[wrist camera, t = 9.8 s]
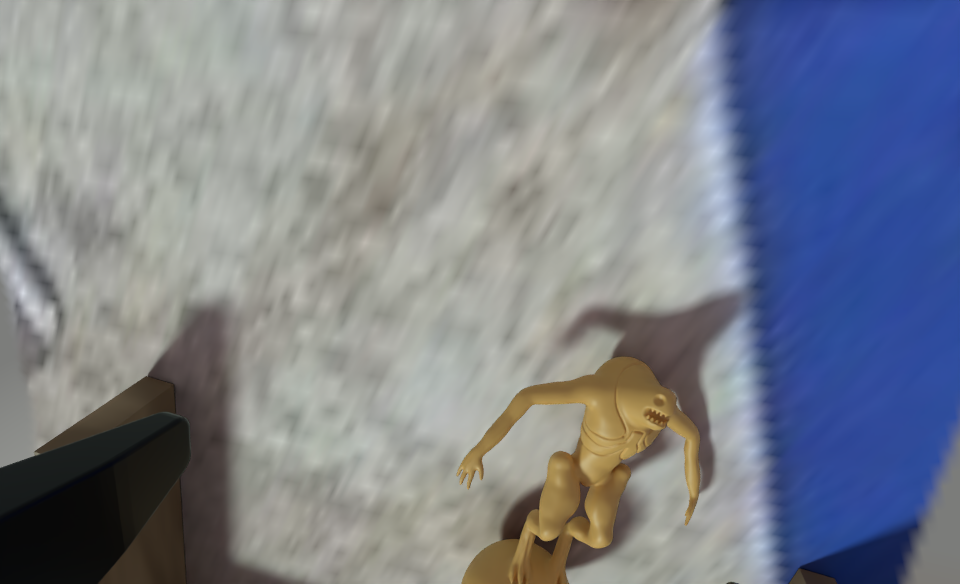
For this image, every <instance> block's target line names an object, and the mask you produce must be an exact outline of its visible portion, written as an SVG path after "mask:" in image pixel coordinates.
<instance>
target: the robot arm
mask: <svg viewBox="0 0 960 584" xmlns="http://www.w3.org/2000/svg"><path fill="white" fill-rule="evenodd" d="M190 456H191V444H190V425H189V421H188V420H187V418H185V417H183V416H179V415H176V414H173V413H169V412H160V413H156V414H153V415H151V416H148V417H145V418H142V419H139V420H136V421H133V422H130V423H128V424H125V425H122V426H119V427H116V428H113V429H110V430H108V431H105V432H102V433H99V434H96V435H93V436H90V437H87V438H85V439H82V440H79V441H76V442H73V443H70V444H67V445H64V446H62V447H59V448H56V449H53V450H50V451H47V452H44V453H42V454H39V455H36V456H33V457H30V458H27V459H24V460H22V461H19V462H16V463H13V464H10V465H7V466H4V467H2V468H0V584H98V583H99V582H100V581H101V580H102V579H103V578H104V576H105V575H106V574H107V573H108V572H109V571H110V569H111V568H112V567H113V566H114V565H115V564H116V562H117V561H118V560H119V559H120V558H121V556H122V555H123V554H124V553H125V552H126V550H127V549H128V548H129V546H130V545H131V544H132V542H133V541H134V540H135V538H136V537H137V536H138V534H139V533H140V532H141V530H142V529H143V527H144V526H145V525H146V523H147V522H148V520H149V519H150V518H151V516H152V515H153V514H154V512H155V511H156V509H157V508H158V507H159V505H160V504H161V502H162V501H163V500H164V498H165V497H166V495H167V494H168V493H169V491H170V490H171V489H172V487H173V486H174V484H175V483H176V482H177V480H178V479H179V477H180V476H181V475H182V473H183V472H184V471H185V469H186V467H187V465H188V463H189V461H190ZM727 584H738V583H735V582H728V583H727Z"/></svg>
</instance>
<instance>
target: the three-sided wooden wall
mask: <svg viewBox="0 0 960 584" xmlns="http://www.w3.org/2000/svg"><path fill="white" fill-rule="evenodd" d="M160 412H169V413H173V414H176V412H175V396H174V384H171V383H167V382H164V381H161V380H157V379H154V378H150V377H147V376H146V377H144V378H143V379H141V380H140V381H138V382H137V383H135V384H134V385H132V386H131V387H129V388H128V389H126V390H125V391H123V392H122V393H120V394H119V395H117V396H116V397H115V398H113V399H112V400H110V401H109V402H107V403H106V404H104V405H103V406H101V407H100V408H98V409H97V410H95V411H94V412H92V413H91V414H89V415H88V416H86V417H85V418H83V419H82V420H80V421H79V422H77V423H76V424H74V425H73V426H71V427H70V428H68V429H67V430H65V431H64V432H63V433H61V434H60V435H58V436H57V437H55V438H54V439H52V440H51V441H49V442H48V443H46V444H45V445H43V446H42V447H40V448H39V449H37V450H36V451H34V454H35V456H36V455H39V454H42V453H44V452H47V451H50V450H53V449H56V448H59V447H62V446H64V445H67V444H70V443H73V442H76V441H79V440H82V439H85V438H87V437H90V436H93V435H96V434H99V433H102V432H105V431H108V430H110V429H113V428H116V427H119V426H122V425H125V424H128V423H130V422H133V421H136V420H139V419H142V418H145V417H148V416H151V415H153V414H156V413H160ZM98 584H186V571H185V555H184V539H183V523H182V507H181V491H180V477H179V479H178V480H177V482H176V483H175V484H174V486H173V487H172V489H171V490H170V491H169V493H168V494H167V495H166V497H165V498H164V500H163V501H162V502H161V504H160V505H159V507H158V508H157V509H156V511H155V512H154V514H153V515H152V516H151V518H150V519H149V520H148V522H147V523H146V525H145V526H144V527H143V529H142V530H141V532H140V533H139V534H138V536H137V537H136V538H135V540H134V541H133V542H132V544H131V545H130V546H129V548H128V549H127V550H126V552H125V553H124V554H123V555H122V556H121V558H120V559H119V560H118V561H117V562H116V564H115V565H114V566H113V567H112V568H111V569H110V571H109V572H108V573H107V574H106V575H105V576H104V578H103V579H102V580H101V581H100V582H99V583H98ZM789 584H837V582H836V581H835V579H834V578H831V577H827V576H824V575H821V574H817V573H814V572H810V571H807V570H804V569H800V568H799V569H798V571H797V572H796V574H795V575H794V577H793V578H792V580H791V581H790V583H789Z"/></svg>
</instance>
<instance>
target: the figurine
mask: <svg viewBox="0 0 960 584" xmlns="http://www.w3.org/2000/svg"><path fill="white" fill-rule="evenodd" d="M676 399H677V398H676V395H675V394H674V393H673V392H672V391H671V390H669V389H667V388H665V387H662V386H661V385H660V384H659V382H658V380H657V379H656V378H655V376H654V374H653V372H652V370H651V369H650V368H649V367H648V366H647V365H646V364H645V363H643V362H642V361H640V360H638V359H635V358H632V357H616V358H613V359H610V360H608V361H607V362H605V363H604V364H603V365H602V366H601V367H600V368H599V369H598V370H597V371H596V373H595V374H594V375H585V376H582V377H579V378H577V379H574V380H571V381H564V382H553V383H546V384H540V385H534V386H530V387H527V388H524V389H522V390H521V391H520V392H519V393H518V394H517V395H516V396H515V397H514V398H513V400H512V401H511V403H510V404H509V406H508V407H507V409H506V410H505V411H504V413H503V414H502V415H501V416H500V417H499V418H498V419H497V420H496V421H495V423H494V424H493V425H492V426H491V427H490V428H489V429H488V431H487V432H486V433H485V435H484V437H483V438H482V439H481V441H480V442H479V443H478V444H477V445H476V446H475V447H474V448H473V449H472V450H471V451H470V452H469V453H468V454H467V455H466V457H465V458H464V460H463V461H462V463H461V465H460V467H459V469H458V472H457V475H456V476H459V474H460V472H461V471H462V469H463V473H462V475H461V478H460V485H461V484H462V483H463V480H464V478H465V477H466V475H467V473H468V474H469V477H468V482H467V489H469V488H470V485H471V482H472V479H473V477H474V474H475V471H476V470H478V471H479V475H480V480H482V479H483V473H484V470H483V464H482V457H483V456H484V455H485V454H486V453H487V452H488V451H490V450H491V449H492V448H493V447H494V446H495V445H497V444H498V443H499V442H500V441H501V440H502V439H503V438H504V437H505V435H506V434H507V433H508V432H509V430H510V429H511V427H512V426H513V425H514V424H515V423H516V422H517V421H518V420H519V419H520V418H521V417H522V416H523V415H524V414H525V412H526V411H527V410H528V409H529V408H530V407H531V406H532V405H534V404H545V405H547V404H569V403H582V404H585V405H586V409H585V414H584V418H583V422H582V425H581V435H580V438H579V441H578V444H577V448H576V451H575V452H574V453H573V454H572V455H570V454H568V453H566V452H563V451H558V452H555V453H554V454H553V455H552V456H551V458H550V460H549V463H548V472H547V479H546V482H545V485H544V488H543V491H542V494H541V498H540V504H539V510H538V509H534V510H532V511H531V512H530V513H529V514H528V516H527V521H526V522H525V525H524V527H523V530H522V533H521V537H520V539H507V540H502V541H498V542H496V543H493V544H491V545H489V546H488V547H486V548H485V549H483V550H482V551H481V552H480V553H479V554H478V555H477V556H476V557H475V558H474V559H473V561H472V562H471V563H470V565H469V567H468V568H467V570H466V572H465V575H464V577H463V580H462V584H569V583H568V580H567V577H566V572H565V565H566V560H567V556H568V553H569V550H570V546H571V542H572V539H573V537H575V538H576V539H577V540H579V541H581V542H584V543H586V544H587V545H589V546H591V547H593V548H603V547H606V546H608V545H610V544H611V542H612V540H613V526H614V522H615V518H616V513H617V509H618V505H619V500H620V497H621V494H622V493H623V491H624V489H625V487H626V484H627V482H628V480H629V478H630V476H631V471H630V468H629V467H628V466H627V465H625V464H622V463H620V462H621V461H622V460H623V459H627V458H629V457H631V456H633V455H635V453H636V452H637V453H639V452H641V451H643V450H645V449H646V448H647V447H648V446H650V445H651V444H652V442H653V441H654V440H655V438H656V437H657V436H658V434H659V433H660V431H661V430H662V429H664V428H665V427H666V426H668V427H669V428H671V429H672V430H673V431H675V432H676V433H677V434H679V435H681V436H682V437H684V438H686V441H685V446H684V454H685V476H686V482H687V486H688V489H689V493H690V500H689V507H688V509H687V511H686V513H685V516H687V517H686V520H685V526H686V525H687V524H688V522H689V520H690V518H691V516H692V514H693V511H694V509H695V506H696V504H697V500H698V496H699V486H700V468H699V459H698V452H699V446H700V434H699V431H698V429H697V427H696V426H695V424H694V423H693V422H692V421H691V420H690V419H689V418H688V417H687V416H686V415H685V414H684V413H683V412H682V411H680V410H679V408H678V407H677V405H676ZM580 483H581V484H582V485H583V486H586V487H590V488H589V491H588V494H587V496H586V500H585V510H586V513H587V515H588V517H589V519H590V522H589V521H588V520H587V519H586V518H584V517H581V516H578V517H574V518H573V519H571V521H570V522H569V523H566V522H567V520H568V519H569V518H570V517H571V516H572V515H573V514H574V513H575V511H576V510H577V508H578V506H579V502H580ZM536 535H537V536H539V538H540V539H541V540H543V541H550V540H553V539H555V538H556V537H558V536H559V538H558V541H557V544H556V546H555V549H554V552H553V555H551V554H550V553H549V552H547V551H546V550H545V549H543V548H542V547H540V546H538V545H537V544H534V540H535V537H536Z"/></svg>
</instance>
